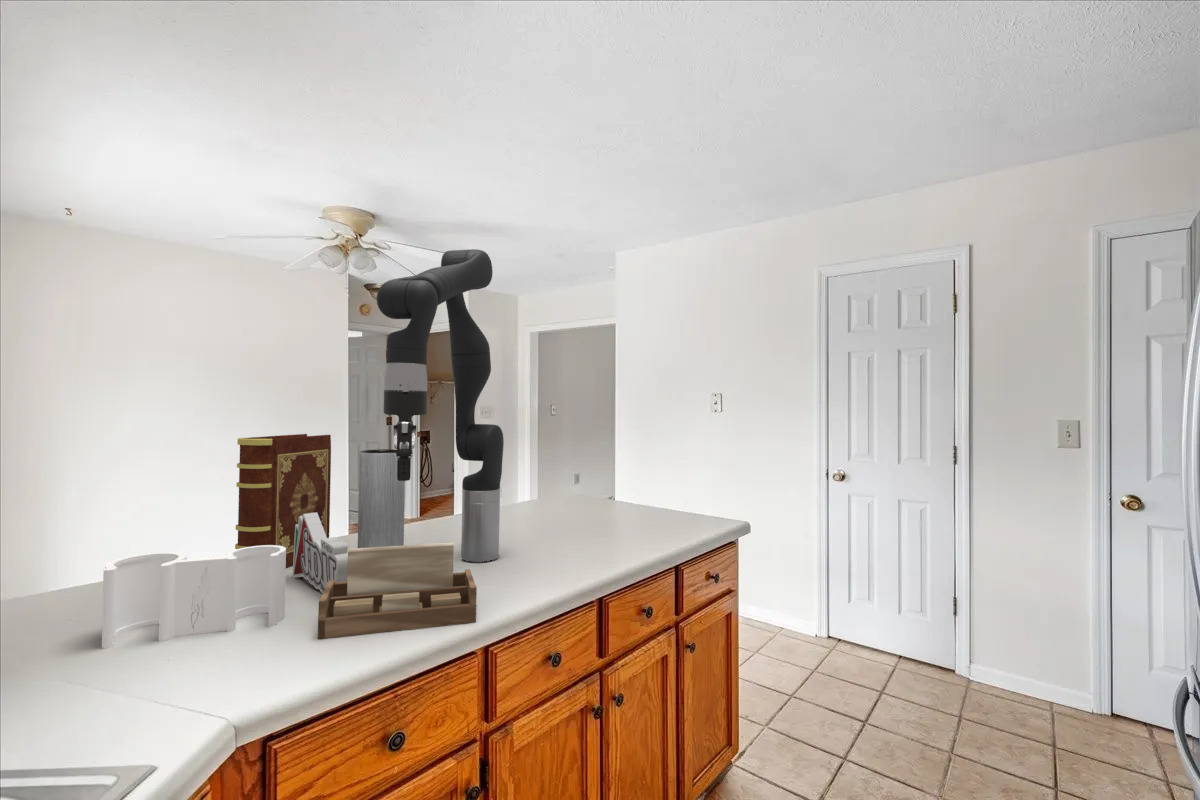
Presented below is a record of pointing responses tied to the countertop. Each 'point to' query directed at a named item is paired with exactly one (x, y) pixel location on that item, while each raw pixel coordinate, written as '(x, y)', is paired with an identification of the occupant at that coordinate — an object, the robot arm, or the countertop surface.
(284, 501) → the decorative book
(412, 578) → the sheet
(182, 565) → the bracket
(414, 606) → the upper offcut
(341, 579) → the decorative sign
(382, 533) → the vase
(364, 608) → the offcut
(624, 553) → the countertop surface
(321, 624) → the rack
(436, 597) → the offcut
